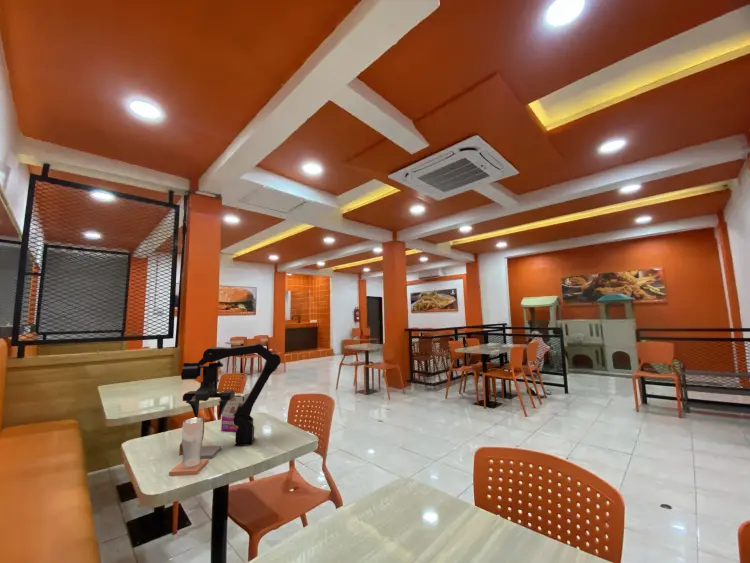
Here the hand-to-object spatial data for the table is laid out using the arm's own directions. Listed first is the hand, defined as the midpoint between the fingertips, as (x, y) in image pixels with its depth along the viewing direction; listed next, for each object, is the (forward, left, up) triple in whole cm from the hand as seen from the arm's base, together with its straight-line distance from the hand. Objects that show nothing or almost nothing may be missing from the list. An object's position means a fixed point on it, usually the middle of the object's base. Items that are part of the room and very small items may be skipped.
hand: (208, 417), depth 130 cm
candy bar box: (-4, -20, -12) cm, 24 cm away
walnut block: (+6, +4, -12) cm, 14 cm away
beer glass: (-2, +17, -11) cm, 21 cm away
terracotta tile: (-2, +18, -12) cm, 22 cm away
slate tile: (-2, +6, -12) cm, 14 cm away
